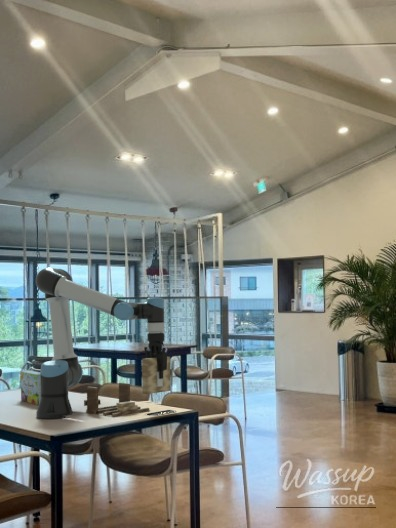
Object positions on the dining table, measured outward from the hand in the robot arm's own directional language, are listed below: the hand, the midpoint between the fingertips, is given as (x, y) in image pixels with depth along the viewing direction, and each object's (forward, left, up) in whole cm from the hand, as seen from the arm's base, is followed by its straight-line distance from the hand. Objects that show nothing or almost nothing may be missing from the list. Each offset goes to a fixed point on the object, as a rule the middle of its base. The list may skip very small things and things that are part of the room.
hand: (156, 385), depth 289 cm
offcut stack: (-13, +5, -12) cm, 18 cm away
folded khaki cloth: (0, 0, -3) cm, 3 cm away
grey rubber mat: (0, 0, -12) cm, 12 cm away
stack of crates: (-5, +41, -12) cm, 43 cm away
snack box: (-16, +73, -12) cm, 76 cm away
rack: (-13, +11, -12) cm, 21 cm away
